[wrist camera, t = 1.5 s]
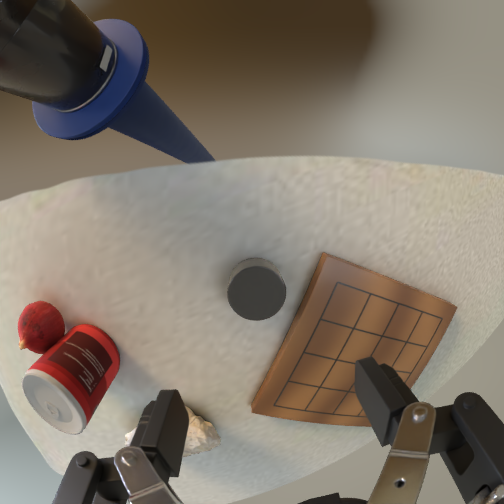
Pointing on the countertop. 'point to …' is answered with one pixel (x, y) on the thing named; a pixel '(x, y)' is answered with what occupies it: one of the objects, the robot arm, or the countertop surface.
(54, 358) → the canned food
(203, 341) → the countertop surface
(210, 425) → the stone
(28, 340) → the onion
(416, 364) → the grid board
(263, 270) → the black stone
